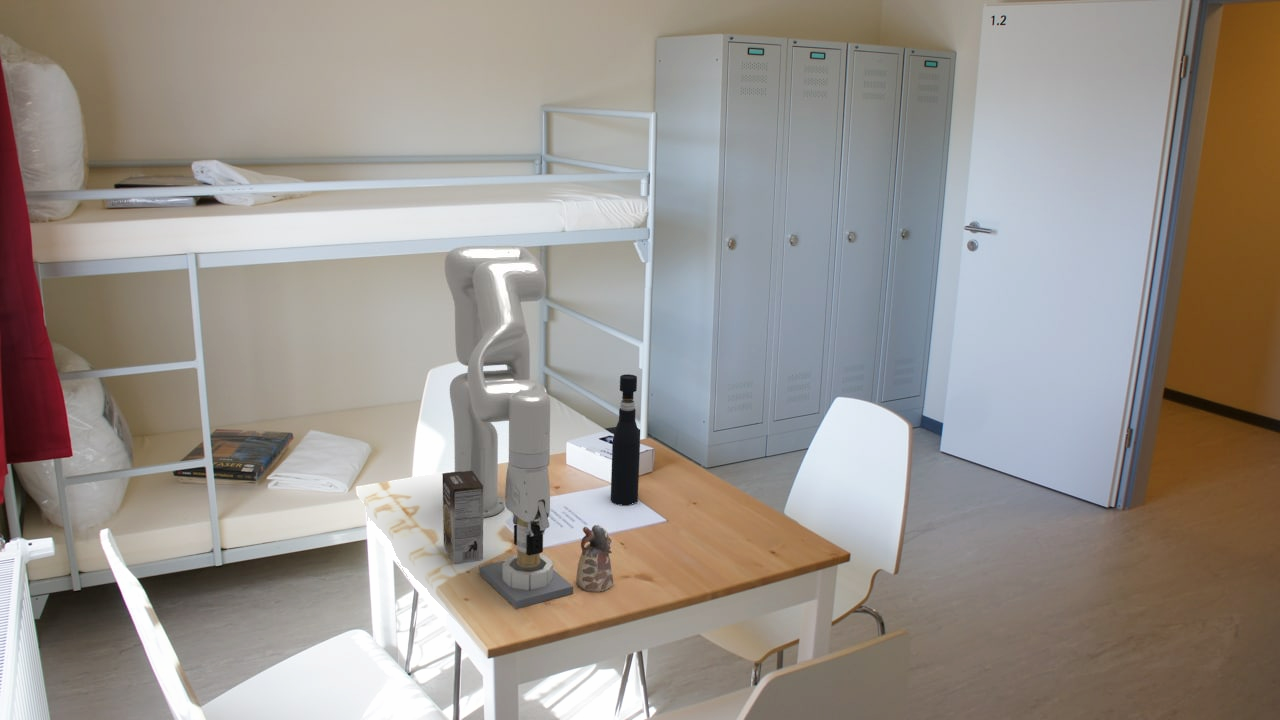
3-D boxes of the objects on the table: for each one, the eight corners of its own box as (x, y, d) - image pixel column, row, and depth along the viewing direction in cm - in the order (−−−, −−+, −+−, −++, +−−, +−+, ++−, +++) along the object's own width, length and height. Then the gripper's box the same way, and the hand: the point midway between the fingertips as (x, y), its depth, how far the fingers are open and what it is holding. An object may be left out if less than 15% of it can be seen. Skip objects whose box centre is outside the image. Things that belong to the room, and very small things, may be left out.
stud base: (479, 573, 196) (479, 552, 195) (533, 560, 202) (534, 539, 201) (515, 608, 183) (516, 586, 182) (573, 593, 189) (573, 571, 188)
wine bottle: (617, 507, 230) (622, 381, 223) (605, 497, 236) (609, 374, 228) (642, 503, 233) (647, 378, 226) (630, 493, 239) (634, 371, 231)
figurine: (616, 590, 191) (618, 532, 188) (579, 593, 190) (580, 534, 187) (609, 573, 198) (611, 517, 195) (574, 576, 196) (575, 519, 193)
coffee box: (442, 546, 207) (441, 472, 203) (472, 541, 210) (472, 469, 206) (452, 564, 199) (451, 488, 195) (484, 560, 202) (484, 484, 197)
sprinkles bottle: (544, 565, 190) (545, 499, 187) (522, 571, 188) (523, 504, 184) (533, 556, 194) (534, 491, 190) (511, 561, 191) (512, 495, 188)
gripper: (490, 446, 190) (490, 536, 195) (532, 475, 176) (531, 570, 181) (526, 441, 194) (525, 528, 199) (569, 468, 181) (567, 561, 185)
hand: (528, 547), depth 190 cm, fingers closed on sprinkles bottle, 4 cm apart
